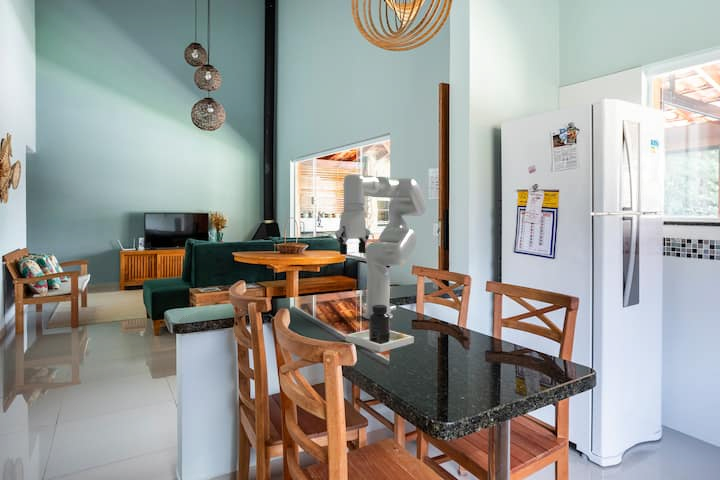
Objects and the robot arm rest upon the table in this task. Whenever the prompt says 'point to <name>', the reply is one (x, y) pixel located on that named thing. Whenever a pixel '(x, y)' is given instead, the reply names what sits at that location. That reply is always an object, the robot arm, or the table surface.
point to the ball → (400, 336)
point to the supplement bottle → (379, 325)
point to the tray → (363, 340)
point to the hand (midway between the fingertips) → (352, 253)
